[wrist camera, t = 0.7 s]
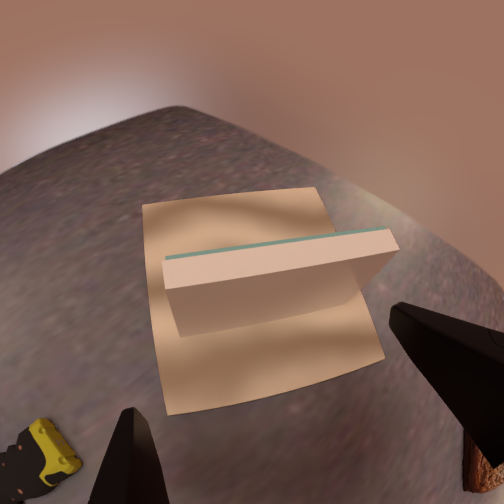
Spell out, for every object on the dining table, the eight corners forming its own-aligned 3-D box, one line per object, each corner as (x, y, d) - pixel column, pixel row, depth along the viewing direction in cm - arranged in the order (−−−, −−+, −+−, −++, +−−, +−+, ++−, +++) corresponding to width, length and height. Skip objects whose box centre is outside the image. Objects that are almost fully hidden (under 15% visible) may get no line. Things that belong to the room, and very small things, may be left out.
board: (380, 360, 23) (385, 358, 23) (169, 415, 19) (167, 415, 19) (312, 191, 33) (314, 187, 32) (143, 210, 28) (142, 205, 28)
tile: (345, 304, 25) (399, 249, 17) (180, 337, 22) (165, 289, 14) (338, 284, 26) (387, 225, 18) (176, 314, 23) (161, 255, 15)
